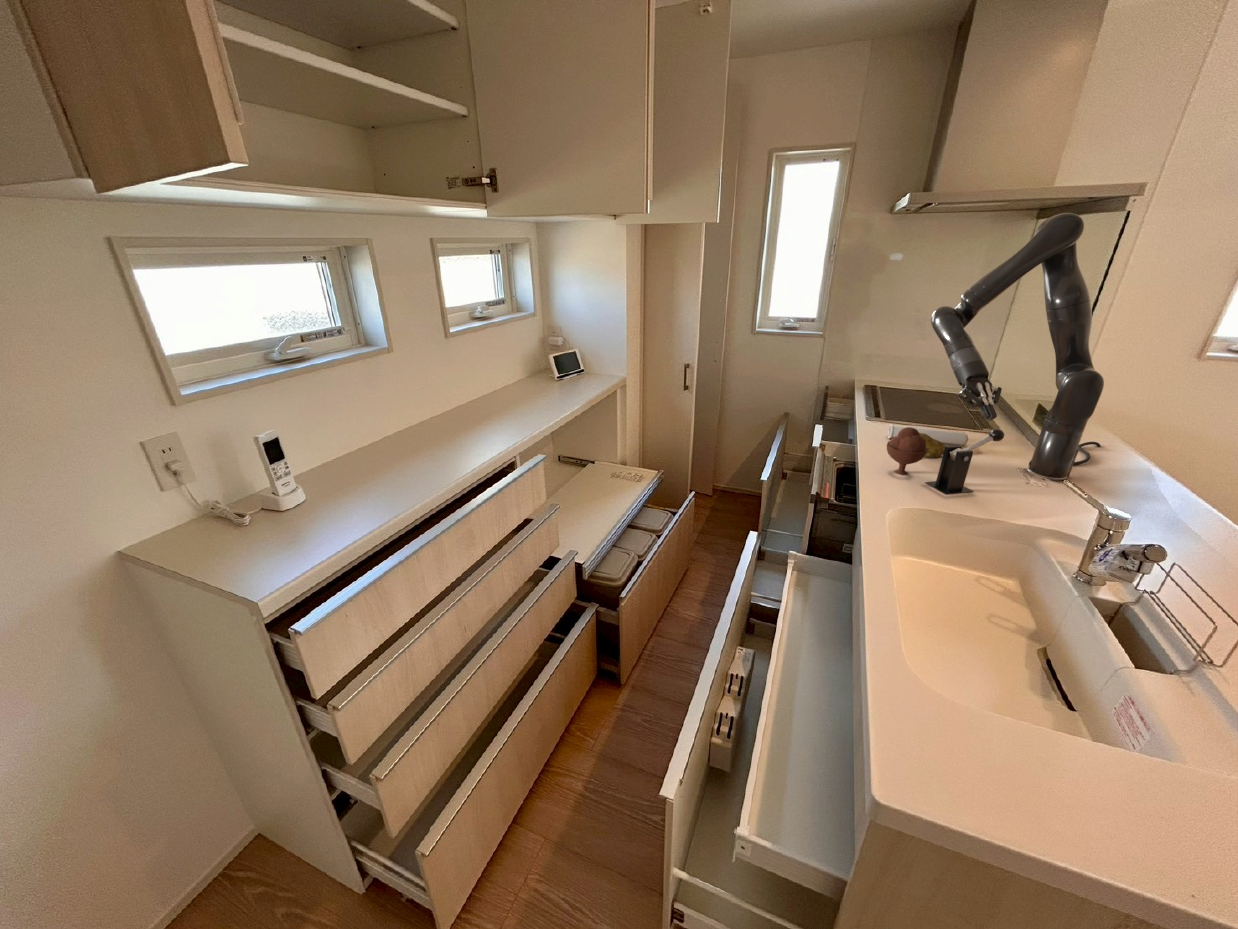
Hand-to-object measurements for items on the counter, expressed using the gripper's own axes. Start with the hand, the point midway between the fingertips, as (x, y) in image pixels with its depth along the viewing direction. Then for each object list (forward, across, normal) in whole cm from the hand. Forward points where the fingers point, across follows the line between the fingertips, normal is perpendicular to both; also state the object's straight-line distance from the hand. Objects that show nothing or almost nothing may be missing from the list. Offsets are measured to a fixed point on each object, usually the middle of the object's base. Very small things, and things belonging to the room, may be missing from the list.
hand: (992, 418), depth 139 cm
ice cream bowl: (+8, -17, +21) cm, 28 cm away
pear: (-2, +2, +30) cm, 30 cm away
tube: (-10, +13, +39) cm, 42 cm away
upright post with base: (+16, -11, +12) cm, 23 cm away
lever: (+8, -4, +4) cm, 9 cm away
